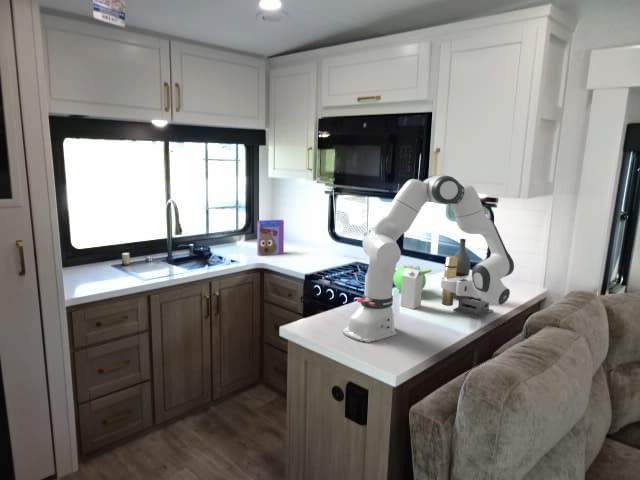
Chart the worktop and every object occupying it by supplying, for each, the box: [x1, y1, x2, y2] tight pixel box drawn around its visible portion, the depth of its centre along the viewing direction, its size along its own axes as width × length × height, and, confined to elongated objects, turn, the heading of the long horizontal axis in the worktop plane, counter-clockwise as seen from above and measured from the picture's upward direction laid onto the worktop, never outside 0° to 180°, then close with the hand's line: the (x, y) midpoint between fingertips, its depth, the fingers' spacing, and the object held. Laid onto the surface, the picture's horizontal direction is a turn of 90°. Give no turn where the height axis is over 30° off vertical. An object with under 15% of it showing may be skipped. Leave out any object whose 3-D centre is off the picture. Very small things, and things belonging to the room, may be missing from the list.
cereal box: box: [256, 219, 285, 257], centre depth 303 cm, size 17×5×24 cm, turn 113°
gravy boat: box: [393, 264, 433, 292], centre depth 227 cm, size 18×17×15 cm
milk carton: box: [399, 265, 423, 310], centre depth 206 cm, size 7×7×19 cm
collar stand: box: [453, 296, 494, 320], centre depth 201 cm, size 13×13×6 cm
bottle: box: [453, 238, 471, 301], centre depth 219 cm, size 9×9×30 cm
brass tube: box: [441, 255, 458, 307], centre depth 198 cm, size 5×5×22 cm
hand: (448, 278), depth 199 cm, fingers closed on brass tube, 5 cm apart
